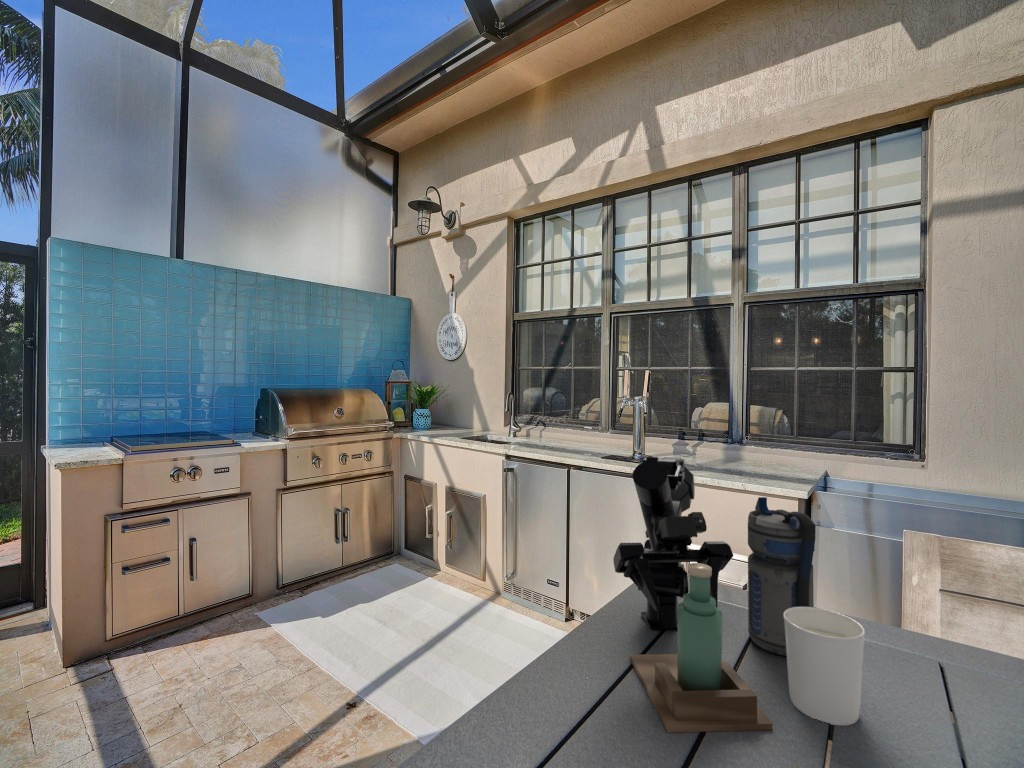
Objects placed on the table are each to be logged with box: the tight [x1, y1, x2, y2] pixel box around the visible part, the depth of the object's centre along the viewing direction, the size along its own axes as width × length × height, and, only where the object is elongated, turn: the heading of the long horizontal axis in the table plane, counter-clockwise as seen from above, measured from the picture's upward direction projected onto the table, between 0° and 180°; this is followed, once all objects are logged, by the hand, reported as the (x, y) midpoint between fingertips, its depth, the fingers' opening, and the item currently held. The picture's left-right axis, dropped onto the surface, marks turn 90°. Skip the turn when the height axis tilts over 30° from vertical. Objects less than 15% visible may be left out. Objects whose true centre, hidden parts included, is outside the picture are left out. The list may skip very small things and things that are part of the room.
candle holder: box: [783, 607, 866, 727], centre depth 69 cm, size 10×10×12 cm
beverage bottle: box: [747, 496, 816, 657], centre depth 86 cm, size 10×13×25 cm
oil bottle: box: [677, 562, 723, 691], centre depth 71 cm, size 6×6×18 cm
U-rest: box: [629, 653, 773, 733], centre depth 73 cm, size 18×14×4 cm
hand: (686, 609), depth 76 cm, fingers open, 9 cm apart
